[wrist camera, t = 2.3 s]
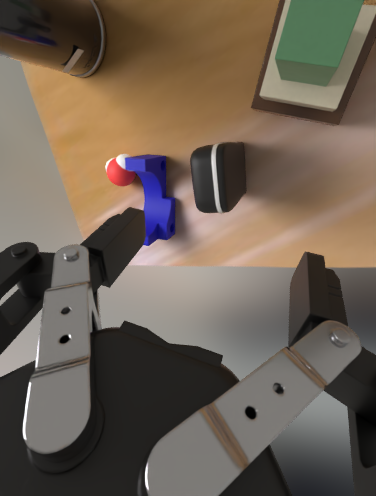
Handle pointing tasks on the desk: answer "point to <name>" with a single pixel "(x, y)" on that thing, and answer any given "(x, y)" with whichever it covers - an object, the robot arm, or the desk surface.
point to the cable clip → (154, 196)
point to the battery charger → (218, 176)
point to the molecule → (119, 171)
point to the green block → (315, 39)
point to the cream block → (316, 94)
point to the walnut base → (307, 112)
